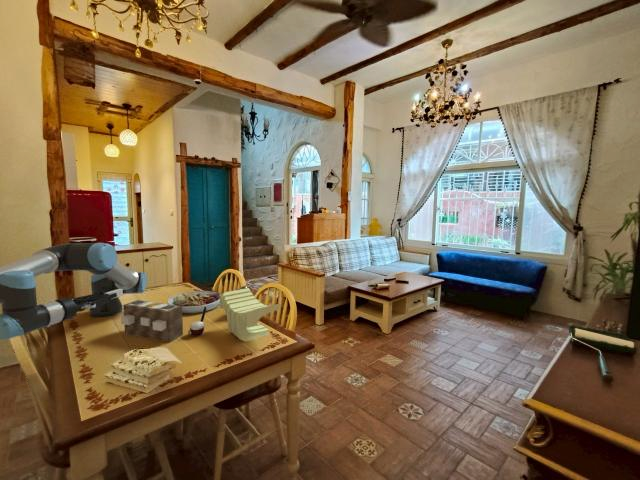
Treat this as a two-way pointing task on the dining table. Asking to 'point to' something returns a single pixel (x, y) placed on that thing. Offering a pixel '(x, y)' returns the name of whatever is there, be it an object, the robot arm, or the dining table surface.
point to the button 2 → (159, 325)
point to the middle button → (145, 321)
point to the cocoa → (198, 326)
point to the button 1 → (128, 319)
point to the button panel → (154, 312)
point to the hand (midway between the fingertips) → (121, 292)
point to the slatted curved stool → (245, 314)
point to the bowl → (195, 301)
